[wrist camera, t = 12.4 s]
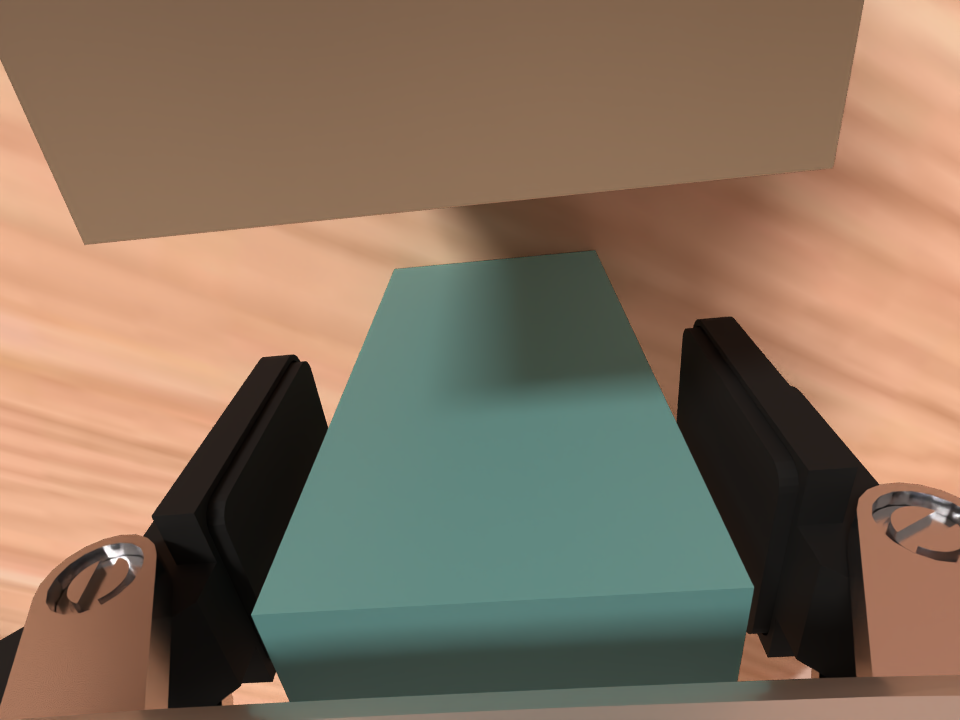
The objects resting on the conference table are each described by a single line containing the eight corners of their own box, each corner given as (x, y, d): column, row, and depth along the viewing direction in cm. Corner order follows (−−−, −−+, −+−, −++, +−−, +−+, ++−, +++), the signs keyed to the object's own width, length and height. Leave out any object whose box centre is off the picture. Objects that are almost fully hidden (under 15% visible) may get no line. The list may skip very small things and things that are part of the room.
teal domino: (596, 323, 15) (732, 708, 7) (407, 339, 16) (300, 726, 7) (595, 250, 14) (754, 587, 6) (394, 269, 15) (250, 615, 6)
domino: (593, 69, 12) (832, 167, 4) (361, 96, 13) (83, 245, 4) (591, -45, 11) (914, -269, 3) (341, -13, 12) (-85, -125, 3)
